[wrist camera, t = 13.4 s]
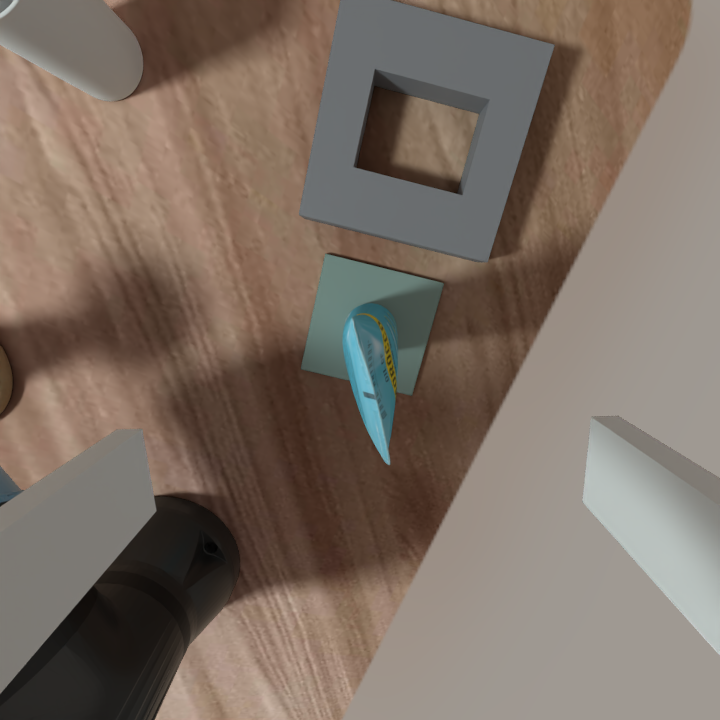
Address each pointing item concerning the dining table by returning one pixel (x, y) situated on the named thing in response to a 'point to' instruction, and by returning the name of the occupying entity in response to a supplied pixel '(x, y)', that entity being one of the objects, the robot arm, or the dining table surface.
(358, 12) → the socket board
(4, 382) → the candle holder
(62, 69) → the mug
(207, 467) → the dining table surface
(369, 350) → the tube
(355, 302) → the coaster
